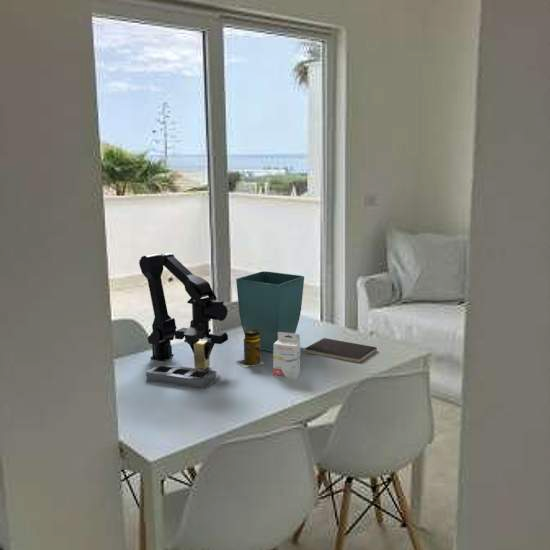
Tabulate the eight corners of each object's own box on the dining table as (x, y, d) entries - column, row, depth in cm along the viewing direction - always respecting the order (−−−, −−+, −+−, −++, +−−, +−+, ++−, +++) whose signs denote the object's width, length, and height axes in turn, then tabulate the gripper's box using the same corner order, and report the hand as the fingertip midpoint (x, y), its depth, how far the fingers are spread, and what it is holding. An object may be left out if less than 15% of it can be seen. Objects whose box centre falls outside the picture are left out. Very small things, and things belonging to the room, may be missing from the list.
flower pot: (305, 343, 240) (305, 275, 234) (279, 357, 223) (278, 284, 218) (264, 336, 250) (263, 270, 245) (236, 348, 234) (234, 279, 228)
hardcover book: (359, 364, 217) (359, 358, 216) (304, 353, 229) (304, 348, 229) (376, 352, 230) (376, 346, 229) (324, 342, 242) (324, 337, 242)
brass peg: (194, 367, 211) (193, 343, 210) (199, 364, 215) (199, 340, 213) (204, 369, 210) (203, 344, 208) (209, 365, 214) (209, 341, 212)
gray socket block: (146, 380, 201) (146, 372, 200) (160, 371, 209) (160, 363, 209) (203, 389, 193) (203, 380, 192) (216, 379, 201) (216, 371, 201)
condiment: (265, 363, 217) (264, 332, 215) (245, 368, 212) (244, 336, 210) (254, 358, 223) (254, 327, 221) (235, 362, 218) (234, 331, 216)
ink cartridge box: (272, 376, 204) (272, 335, 201) (277, 371, 209) (277, 331, 206) (296, 378, 201) (296, 337, 198) (300, 373, 206) (300, 333, 203)
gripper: (165, 319, 205) (167, 362, 208) (213, 325, 198) (214, 369, 201) (181, 312, 215) (183, 353, 218) (228, 316, 208) (229, 358, 211)
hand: (201, 358), depth 212 cm, fingers closed on brass peg, 4 cm apart
